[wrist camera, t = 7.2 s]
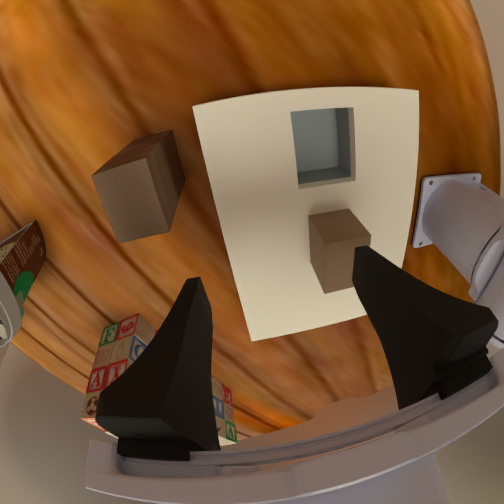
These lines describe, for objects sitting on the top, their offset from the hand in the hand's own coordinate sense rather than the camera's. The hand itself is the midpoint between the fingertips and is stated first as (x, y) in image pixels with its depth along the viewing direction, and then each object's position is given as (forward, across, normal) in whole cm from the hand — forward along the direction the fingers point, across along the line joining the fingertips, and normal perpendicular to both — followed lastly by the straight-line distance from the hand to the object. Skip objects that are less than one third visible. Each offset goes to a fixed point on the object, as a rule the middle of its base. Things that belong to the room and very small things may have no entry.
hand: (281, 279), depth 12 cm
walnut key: (+10, +7, -4) cm, 13 cm away
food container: (+10, +24, +1) cm, 27 cm away
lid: (+7, -4, +3) cm, 9 cm away
